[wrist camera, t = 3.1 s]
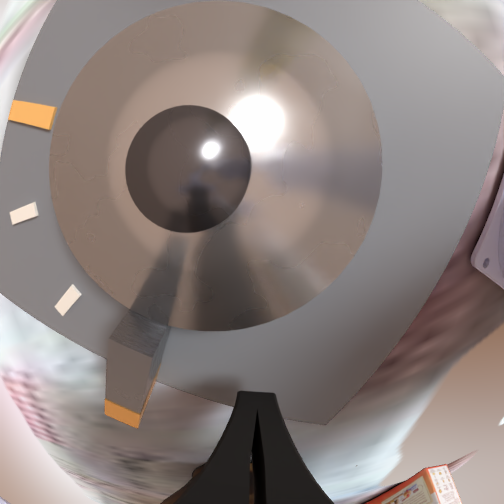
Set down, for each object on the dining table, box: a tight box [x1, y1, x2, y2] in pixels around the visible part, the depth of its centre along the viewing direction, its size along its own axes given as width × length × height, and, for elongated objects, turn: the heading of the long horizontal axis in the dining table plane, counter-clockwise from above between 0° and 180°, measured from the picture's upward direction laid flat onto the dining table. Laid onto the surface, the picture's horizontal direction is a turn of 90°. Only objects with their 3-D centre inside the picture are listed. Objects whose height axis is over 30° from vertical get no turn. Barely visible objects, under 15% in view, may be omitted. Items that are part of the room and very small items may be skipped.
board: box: [0, 0, 504, 425], centre depth 9 cm, size 20×20×1 cm
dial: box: [49, 1, 382, 429], centre depth 7 cm, size 15×10×3 cm
